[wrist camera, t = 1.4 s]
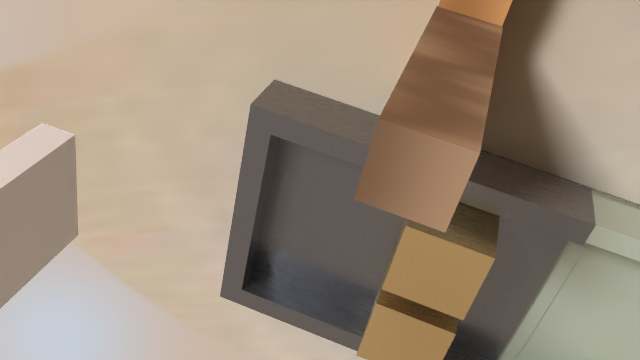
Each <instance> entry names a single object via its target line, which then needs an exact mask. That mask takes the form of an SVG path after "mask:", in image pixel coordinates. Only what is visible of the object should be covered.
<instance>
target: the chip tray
mask: <svg viewBox="0 0 640 360" xmlns="http://www.w3.org/2000/svg"><path fill="white" fill-rule="evenodd" d="M592 196H593V205H594V213H595V222H596V226H595V227H594V229H593V231H592V232H591V234H590V235H589V237H588V239H587V240H586V242H585V243H584V245H583V246H582V245H579V244H577V243H574V242H571V241H568V242H567V244H566V245H565V247H564V249H563V250H562V252H561V254H560V255H559V257H558V259H557V260H556V262H555V264H554V265H553V267H552V269H551V270H550V272H549V274H548V275H547V277H546V279H545V280H544V282H543V284H542V285H541V287H540V289H539V290H538V292H537V294H536V295H535V297H534V299H533V300H532V302H531V304H530V305H529V307H528V309H527V310H526V312H525V314H524V315H523V317H522V319H521V320H520V322H519V324H518V325H517V327H516V329H515V330H514V332H513V333H512V335H511V337H510V338H509V340H508V342H507V343H506V345H505V347H504V348H503V350H502V352H501V353H500V355H499V357H498V358H497V360H640V205H639V204H636V203H633V202H630V201H627V200H624V199H621V198H618V197H615V196H612V195H609V194H607V193H604V192H601V191H598V190H595V189H592Z"/></svg>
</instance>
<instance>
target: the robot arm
mask: <svg viewBox="0 0 640 360" xmlns="http://www.w3.org/2000/svg"><path fill="white" fill-rule="evenodd" d="M77 235H78V217H77V184H76V151H75V135H74V134H71V133H69V132H66V131H63V130H61V129H58V128H55V127H52V126H50V125H47V124H44V123H41V124H40V125H38V126H36V127H35V128H33V129H32V130H30V131H29V132H27V133H26V134H24V135H23V136H21V137H20V138H18V139H16V140H15V141H13V142H12V143H10V144H9V145H7V146H6V147H4V148H3V149H1V150H0V308H1V307H2V306H3V305H4V304H5V303H7V302H8V301H9V300H10V299H11V298H12V297H13V296H14V295H15V294H16V293H17V292H18V291H19V290H20V289H21V288H22V287H23V286H24V285H26V284H27V282H29V281H30V280H31V279H32V278H33V277H34V276H35V275H36V274H37V273H38V272H39V271H40V270H41V269H42V268H44V267H45V266H46V265H47V264H48V263H49V262H50V261H51V260H52V259H53V258H54V257H55V256H56V255H57V254H58V253H59V252H60V251H61V250H62V249H63V248H65V247H66V246H67V245H68V244H69V243H70V242H71V241H72V240H73V239H74V238H75V237H76V236H77Z"/></svg>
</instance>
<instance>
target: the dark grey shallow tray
mask: <svg viewBox="0 0 640 360" xmlns="http://www.w3.org/2000/svg"><path fill="white" fill-rule="evenodd" d="M379 117H380V116H379V115H376V114H373V113H370V112H367V111H364V110H361V109H358V108H355V107H353V106H350V105H347V104H344V103H341V102H338V101H335V100H332V99H329V98H326V97H323V96H320V95H317V94H315V93H312V92H309V91H306V90H303V89H300V88H297V87H294V86H291V85H288V84H285V83H282V82H280V81H277V80H274V81H273V82H272V83H271V84H270V85H269V86H268V87H267V88H266V89H265V90H264V91H263V92H262V93H261V94H260V95H259V96H258V97H257V98H256V99H255V100H254V102H253V103H252V104H251V106H250V113H249V119H248V125H247V131H246V138H245V144H244V150H243V156H242V163H241V169H240V175H239V181H238V188H237V194H236V200H235V206H234V213H233V219H232V225H231V231H230V238H229V244H228V250H227V256H226V263H225V269H224V275H223V281H222V288H221V294H220V296H221V297H223V298H226V299H228V300H231V301H233V302H236V303H238V304H241V305H243V306H246V307H248V308H251V309H253V310H256V311H258V312H261V313H263V314H266V315H268V316H271V317H273V318H276V319H278V320H281V321H283V322H286V323H288V324H291V325H293V326H296V327H298V328H301V329H303V330H306V331H308V332H311V333H313V334H316V335H318V336H321V337H323V338H326V339H328V340H331V341H333V342H336V343H338V344H341V345H343V346H346V347H348V348H351V349H353V350H356V351H358V349H359V346H360V343H361V340H362V337H363V334H364V331H365V328H366V325H367V322H368V319H369V316H370V313H371V310H372V308H373V305H374V302H375V299H376V297H377V294H378V291H379V289H380V286H381V283H382V281H383V278H384V275H385V273H386V270H387V268H388V265H389V262H390V260H391V257H392V254H393V253H394V251H395V248H396V245H397V242H398V239H399V236H400V233H401V231H402V228H403V225H404V223H405V220H406V218H404V217H401V216H398V215H395V214H393V213H390V212H387V211H384V210H382V209H379V208H376V207H373V206H371V205H368V204H365V203H362V202H360V201H357V200H354V198H355V194H356V191H357V188H358V185H359V181H360V178H361V175H362V172H363V168H364V165H365V162H366V159H367V155H368V152H369V149H370V145H371V142H372V139H373V136H374V132H375V129H376V126H377V123H378V119H379ZM459 202H461V203H464V204H467V205H470V206H473V207H476V208H478V209H481V210H484V211H487V212H490V213H492V214H495V215H498V216H500V220H499V230H498V239H497V248H496V257H495V260H494V262H493V264H492V266H491V268H490V270H489V272H488V274H487V276H486V278H485V279H484V281H483V283H482V285H481V287H480V289H479V291H478V293H477V295H476V297H475V299H474V301H473V303H472V305H471V306H470V308H469V310H468V312H467V314H466V316H465V318H464V320H461V319H459V320H458V326H457V332H456V335H455V337H454V339H453V341H452V343H451V345H450V347H449V349H448V351H447V353H446V355H445V357H444V358H443V360H497V358H498V357H499V355H500V353H501V352H502V350H503V348H504V347H505V345H506V343H507V342H508V340H509V338H510V337H511V335H512V333H513V332H514V330H515V329H516V327H517V325H518V324H519V322H520V320H521V319H522V317H523V315H524V314H525V312H526V310H527V309H528V307H529V305H530V304H531V302H532V300H533V299H534V297H535V295H536V294H537V292H538V290H539V289H540V287H541V285H542V284H543V282H544V280H545V279H546V277H547V275H548V274H549V272H550V270H551V269H552V267H553V265H554V264H555V262H556V260H557V259H558V257H559V255H560V254H561V252H562V250H563V249H564V247H565V245H566V244H567V242H568V241H571V242H574V243H577V244H579V245H582V246H583V245H584V243H585V242H586V240H587V239H588V237H589V235H590V234H591V232H592V231H593V229H594V227H595V226H596V222H595V213H594V205H593V196H592V188H589V187H586V186H583V185H580V184H577V183H574V182H571V181H569V180H566V179H563V178H560V177H557V176H554V175H551V174H548V173H545V172H542V171H539V170H536V169H534V168H531V167H528V166H525V165H522V164H519V163H516V162H513V161H510V160H507V159H504V158H501V157H498V156H496V155H493V154H490V153H487V152H484V151H480V155H479V157H478V159H477V162H476V164H475V166H474V168H473V171H472V173H471V175H470V178H469V180H468V182H467V184H466V187H465V189H464V191H463V194H462V196H461V198H460V200H459Z"/></svg>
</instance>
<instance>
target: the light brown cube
mask: <svg viewBox="0 0 640 360" xmlns="http://www.w3.org/2000/svg"><path fill="white" fill-rule="evenodd" d="M499 220H500V216H498V215H495V214H492V213H490V212H487V211H484V210H481V209H478V208H476V207H473V206H470V205H467V204H464V203H461V202H459V203H458V205H457V207H456V210H455V212H454V214H453V216H452V219H451V221H450V223H449V226H448V228H447V230H446V233H445V232H442V231H439V230H436V229H434V228H431V227H428V226H425V225H423V224H420V223H417V222H414V221H412V220H409V219H406V220H405V223H404V225H403V228H402V231H401V233H400V236H399V239H398V242H397V245H396V248H395V251H394V254H393V257H392V260H391V263H390V266H389V269H388V272H387V275H386V278H385V281H384V284H383V287H382V289H383V290H385V291H388V292H390V293H393V294H396V295H398V296H401V297H403V298H406V299H409V300H411V301H414V302H417V303H419V304H422V305H424V306H427V307H430V308H432V309H435V310H437V311H440V312H443V313H445V314H448V315H450V316H453V317H456V318H458V319H461V320H464V318H465V316H466V314H467V312H468V310H469V308H470V306H471V305H472V303H473V301H474V299H475V297H476V295H477V293H478V291H479V289H480V287H481V285H482V283H483V281H484V279H485V278H486V276H487V274H488V272H489V270H490V268H491V266H492V264H493V262H494V260H495V257H496V248H497V239H498V230H499Z"/></svg>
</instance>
